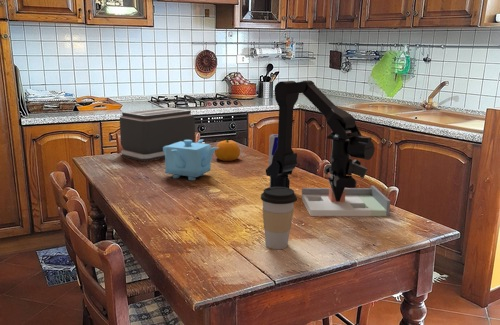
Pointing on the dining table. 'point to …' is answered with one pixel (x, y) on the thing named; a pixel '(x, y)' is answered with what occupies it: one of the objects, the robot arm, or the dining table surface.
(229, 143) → the fruit
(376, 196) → the board
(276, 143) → the beverage can
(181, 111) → the toaster
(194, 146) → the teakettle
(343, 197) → the brick block
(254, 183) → the dining table surface
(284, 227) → the coffee cup
